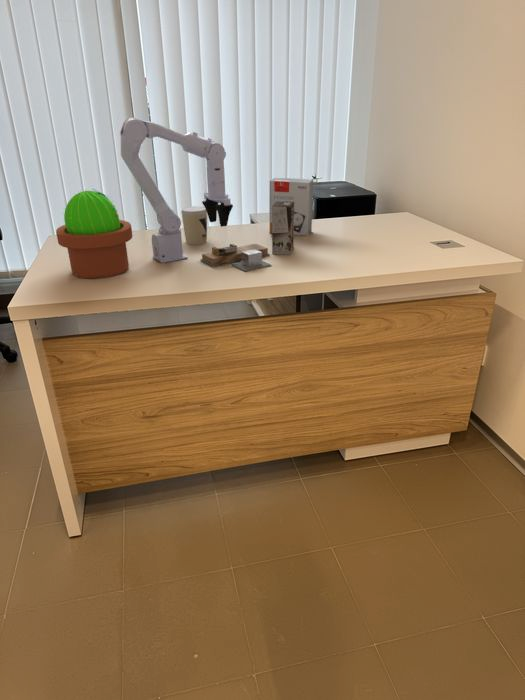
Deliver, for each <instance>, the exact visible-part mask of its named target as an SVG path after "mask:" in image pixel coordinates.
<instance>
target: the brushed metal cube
mask: <svg viewBox="0 0 525 700" xmlns="http://www.w3.org/2000/svg"><path fill="white" fill-rule="evenodd" d="M262 261H263V257H262V252H260V251H258V250H256V249H254V250H249V251H244V252H242V261H241V262H242V264H243V265H245V266H247V267H253V266H257V265H262Z"/></svg>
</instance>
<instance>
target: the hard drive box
mask: <svg viewBox="0 0 525 700" xmlns="http://www.w3.org/2000/svg"><path fill="white" fill-rule="evenodd" d="M313 197H314V179H313V178H311V179H309V178H287V177H286V178H285V177H274V178H271V180H269V234H272V206H273V205H274V204H275V203H276V202H283V201H291V202H294V236H304V237H308V236H309V235H310V234H311V232H312V229H313V228H312V227H313V225H312V224H313V203H314V202H313V201H314V198H313Z"/></svg>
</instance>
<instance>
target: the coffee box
mask: <svg viewBox="0 0 525 700" xmlns="http://www.w3.org/2000/svg"><path fill="white" fill-rule="evenodd" d="M271 234H272V235H271V236H272V237H271V254H273V255H274V254H275V255H287V256H289V255H291V253H292V251H293V249H294V246H295V245H294V240H295V238H294V237H295V235H294V202H291V201H283V202H276V203H275V204H274V205H273V206H272V233H271Z"/></svg>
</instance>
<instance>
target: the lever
mask: <svg viewBox="0 0 525 700" xmlns="http://www.w3.org/2000/svg"><path fill="white" fill-rule="evenodd" d="M218 249H219V253H227V252H233V251H237V249H236V247H231V246H230V245H229V246H225V247H219V248H218Z"/></svg>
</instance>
